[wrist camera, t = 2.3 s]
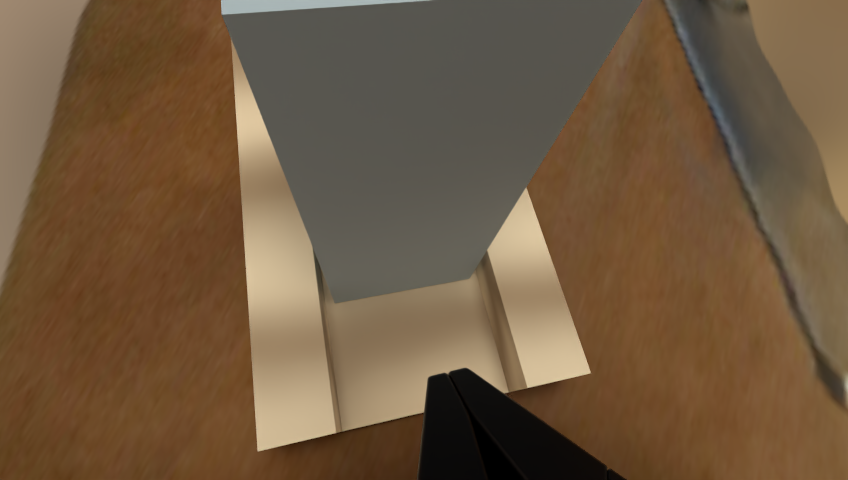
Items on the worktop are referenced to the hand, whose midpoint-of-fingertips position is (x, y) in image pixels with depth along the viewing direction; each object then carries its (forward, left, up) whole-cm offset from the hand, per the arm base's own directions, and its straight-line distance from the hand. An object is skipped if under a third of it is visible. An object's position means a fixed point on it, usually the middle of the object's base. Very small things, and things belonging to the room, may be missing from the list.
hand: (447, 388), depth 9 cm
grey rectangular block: (+7, +3, -9) cm, 12 cm away
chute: (+8, +4, -9) cm, 13 cm away
